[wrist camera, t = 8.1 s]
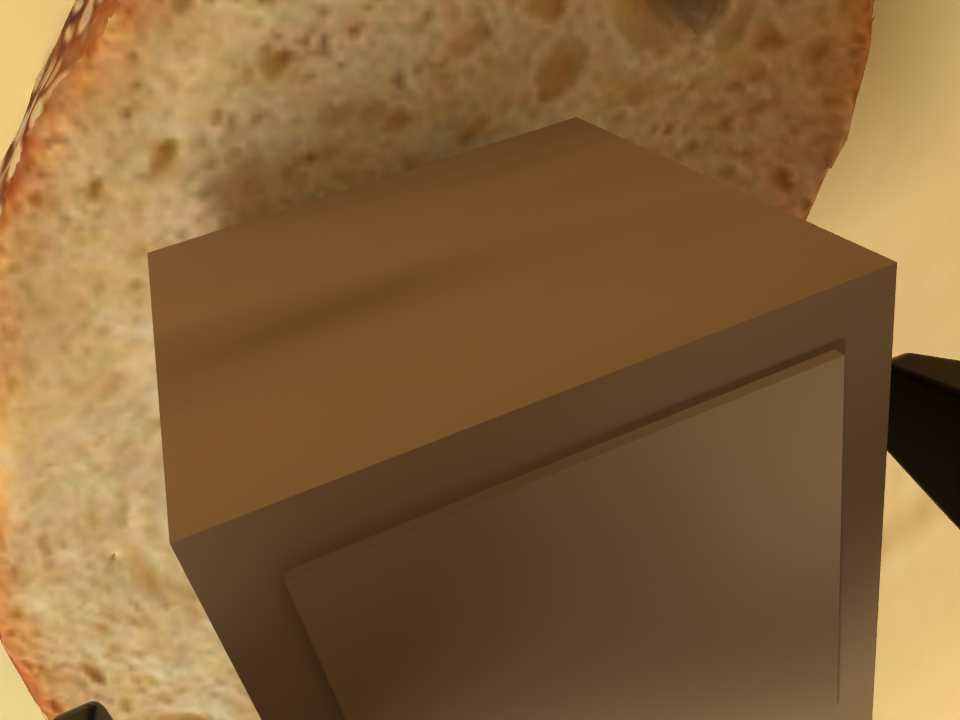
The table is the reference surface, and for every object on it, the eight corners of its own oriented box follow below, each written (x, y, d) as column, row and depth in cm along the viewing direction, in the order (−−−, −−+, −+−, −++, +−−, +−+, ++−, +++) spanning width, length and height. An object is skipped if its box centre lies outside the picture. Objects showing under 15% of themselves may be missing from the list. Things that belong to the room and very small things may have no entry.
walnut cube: (624, 453, 15) (879, 728, 10) (294, 588, 14) (393, 979, 9) (576, 117, 12) (908, 266, 7) (147, 252, 11) (171, 553, 6)
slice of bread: (172, 813, 19) (185, 986, 16) (-575, -31, 10) (-892, -4, 7) (841, 459, 22) (960, 548, 19) (768, -456, 13) (982, -575, 10)
